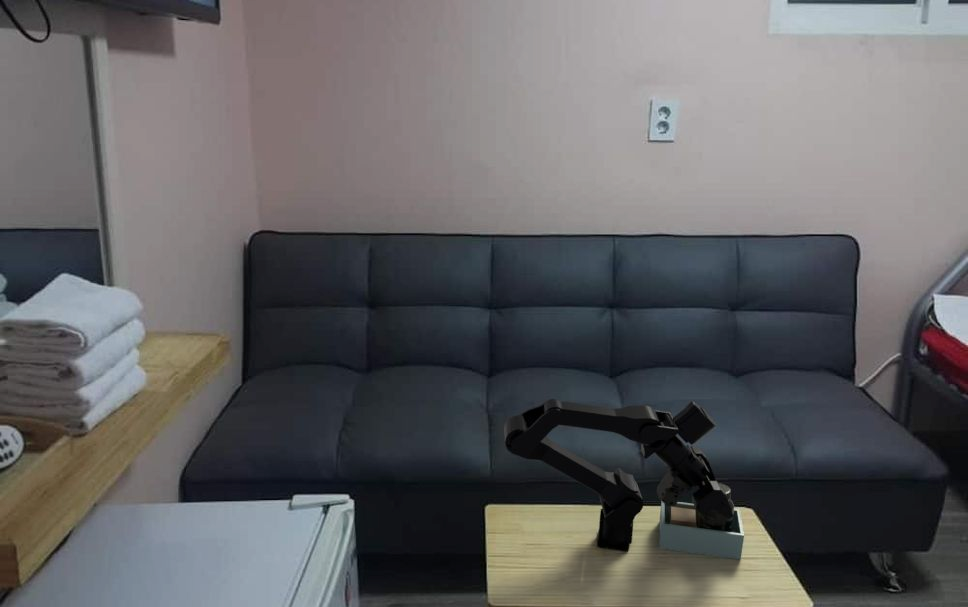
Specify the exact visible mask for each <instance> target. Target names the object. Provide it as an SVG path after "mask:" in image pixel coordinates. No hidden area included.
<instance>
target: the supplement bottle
mask: <svg viewBox="0 0 968 607" xmlns="http://www.w3.org/2000/svg"><path fill="white" fill-rule="evenodd" d="M718 483H719V484H720V486H721V487H722V488H723V489H724V491H725V493H726V495H727V498H728V501H729V504H730V507H731V510H732V512H733V514H734V509H735V504H734V502H733V501H732V499H731V495H732V489H731V488H730V486H729V485H727V484H724V483H721V482H718ZM732 522H733V517H732V518H731V519H728V518H727V517H725V516H723V515H721V514H719V513H717V512H714V511H709V512H708V513H707V514H706V515H701V514H700V513H699V518H698V528H702V529H710V530H717V531H725V532H731V531H732Z"/></svg>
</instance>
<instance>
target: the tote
mask: <svg viewBox="0 0 968 607" xmlns="http://www.w3.org/2000/svg"><path fill="white" fill-rule="evenodd" d="M660 501H661V500H660ZM660 503H661V504H660V513H659V523H658V524H659V525H658V526H659V527H658V531H659V532H658V533H659V534H658V538H659V539H658V540H659V544H658V546H659V547H658V548H659V549H660V548H662V549H663V550H667V549H668V550H667V551H675V552H676V551H677V552H683V553H684V552H685V553H691V554H699V555H706V556H714V557H720V558H721V557H722V558H726V559H727V558H729V559H733V560H735V559H736V560H742V554H743V546H744V539H745V534H744V526H743V521H742V520H743V519H742V514H741V509H739V508H738V509H737V508H734V514H733V515H734V516H733V522H732V531H731V532H725V531H717V530H710V529H702V528H698V518H699V512H698V511H697V510H696V508H695V506H694V504H693V503H689V502H682V501H678V502H677V504H676V505H675V506H671V505H670V506H669V507H668V506H666V504H665V503H663V502H662V501H661V502H660ZM671 507H678V508H686V509H693V510H695V512H696V528H694V527H686V526H679V525H671V524H669V522H670V513H671Z"/></svg>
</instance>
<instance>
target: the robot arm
mask: <svg viewBox="0 0 968 607" xmlns="http://www.w3.org/2000/svg"><path fill="white" fill-rule="evenodd" d="M671 413H672V412H669V411H664V410H663V411H662V410H655V409H653V407H652V406H648V405H641V404H640V405H628V406H627V405H626V406H624V407H621V408H613V407H605V406H597V405H592V404H583V403H578V402H577V403H576V402H569V401H563V400H562V401H561V400H559V399H556V398H549V399H548V400H546V401H545V402H543V403H542V404H540V405H537V406H534V407H532V408H528V409H526V410H525V411H524V412H522V413H521V414H517V415H514V416H511V417H510V418H508V419H507V420H506V422H505V423H504V428H503V432H504V444H505V447H506V450H507V451H508V452H509V453H510V454H512V455H514V456H516V457H519V458H522V459H525V460H529V461H540V462H542V463H544V464H545V465H548V466H549V467H551V468H553V469H554V470H557V472H560V473H561V474H563V475H565V476H567V477H569V478H570V479H571V480H574V481H575V482H577V483H579V484H581V485H583V486H585V487H586V488H587V489H590V490H592V491H593V492H594V493H597V494H598V495H599V500H600V503H601V504H600V505H601V509H600V511H599V512H600V513H599V522H598V523H599V524H598V534H597V541H596V542H597V543H596V547H597V548H602V549H610V550H617V551H625V552H628V551H630V544H632V543H633V531H634V520H635V518H636V516H637V515H639V513H641V511H642V509H643V508H644V500H643V496H642V494H641V491H640V488H639V486H638V482H636V480H635V477H634V476H633V474H630V473H627V472H625V471H624V470H623V469H621V468H619V467H616V468H615V471H614V472H611V471H605V470H603V469H602V468H600V467H598V466H596V465H595V464H593V463H591V462H590V461H588V460H586V459H584V458H582V457H580V456H579V455H577V454H576V453H574V452H572V451H571V450H569V449H567V448H565V447H563V446H562V445H560V444H558V443H557V442H555V441H554V440H553V441H552V439H550V438H549V437H548V436H547V435H549V433H551V431H552V430H553V429H555V428H557V427H558V426H564V427H572V428H573V427H574V428H579V429H587V430H592V431H593V430H594V431H602V432H609V433H615V434H618V435H620V436H622V437H624V438H626V439H628V440H629V441H631V442H632V441H633V442H636V443H639V444H641V446H640V447H641V448H640V451H641V454H642V456H643V458H644V459H645V460H647V459H649V458H650V456H653V455H655V456H656V457H657V458H658V459H659V461H661V462H662V463H663V464H664V465H665V466H666V467H667V468H668V471H667V472H666V473H665V474H664V475H663V477H662V479H661V480H660V482H659V484H658V485H657V487H656V494H657V496H658V499H659V500H660V501H662V502H663V503H665V504H666V506H668V507H669V506H670V505H671V506H675V505H676V504H677V502H680V499H681V495H682V494H683V493H684V491H685V492H686V493H688V492H689V491H690V490H692V489H693V488H695V487H697V486H698V488H699V489H697V490H696V491H694V493H692V494H691V502H692V504H694V506H695V508H696V510H697V511H698V512H699V513H700V514H701V515H706V514H707V513H708V512H709V511H714V512H717V513H719V514H721V515H723V516H725V517H727V518H728V519H731V518H732V517H733V516H734V515H733V512H732V510H731V507H730V504H729V501H728V498H727V495H726V493H725V491H724V489H723V488H722V487H721V486H720V484H719V483H720V482H718V481H717V479H716V476H715V474H714V471H713V469H712V466H711V464H710V462H709V460H708V458H707V456H706V455H705V453H704V451H703V450H702V449H701V448H700V447H699V446H698V445H695V444H697V443H698V442H699V441H700V440H701V439H703V438H705V437H706V435H708V434H709V433H710V432H711V431H713V430H714V429H715V428H716V427H718V426H717V423H716V422H715V421H714V419H713V418H712V417H711V416H710V414H709V413H708V411H706V410H705V409H704V407H701V406H700V405H699V404H697V403H696V402H694V401H690V402H689V403H688V404H687V405H686V406H685V407H684V408H683V409H682V410H681V411H680V412H679V413H677V414H676V415H674V416H673V415H672V414H671ZM678 436H679V437H680V438H679V437H678ZM681 439H682V440H681ZM683 441H684V442H683ZM685 443H686V444H687V445H686V444H685ZM688 443H689V444H690V445H691V446H690V445H689V444H688ZM693 444H694V445H693ZM692 487H693V488H692Z"/></svg>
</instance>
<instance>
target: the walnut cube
mask: <svg viewBox="0 0 968 607" xmlns="http://www.w3.org/2000/svg"><path fill="white" fill-rule="evenodd" d="M669 524H671V525H679V526H686V527H694V528H696V512H695V510H693V509H686V508H678V507H671V513H670V522H669Z"/></svg>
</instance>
